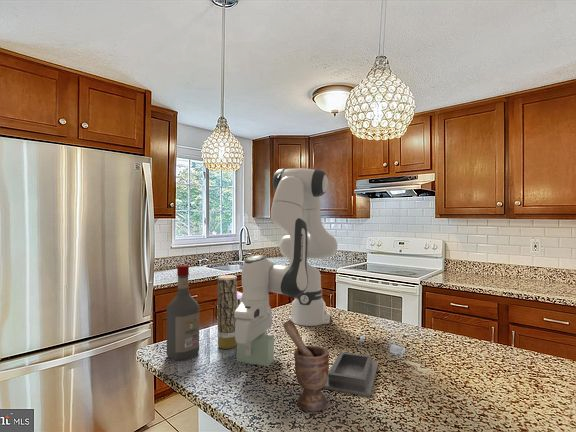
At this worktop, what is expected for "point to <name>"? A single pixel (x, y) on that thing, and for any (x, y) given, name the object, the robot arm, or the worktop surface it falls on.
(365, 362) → the duct collar
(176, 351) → the liquor
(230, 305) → the paper tube
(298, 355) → the mortar and pestle
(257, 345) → the block
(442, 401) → the worktop surface
